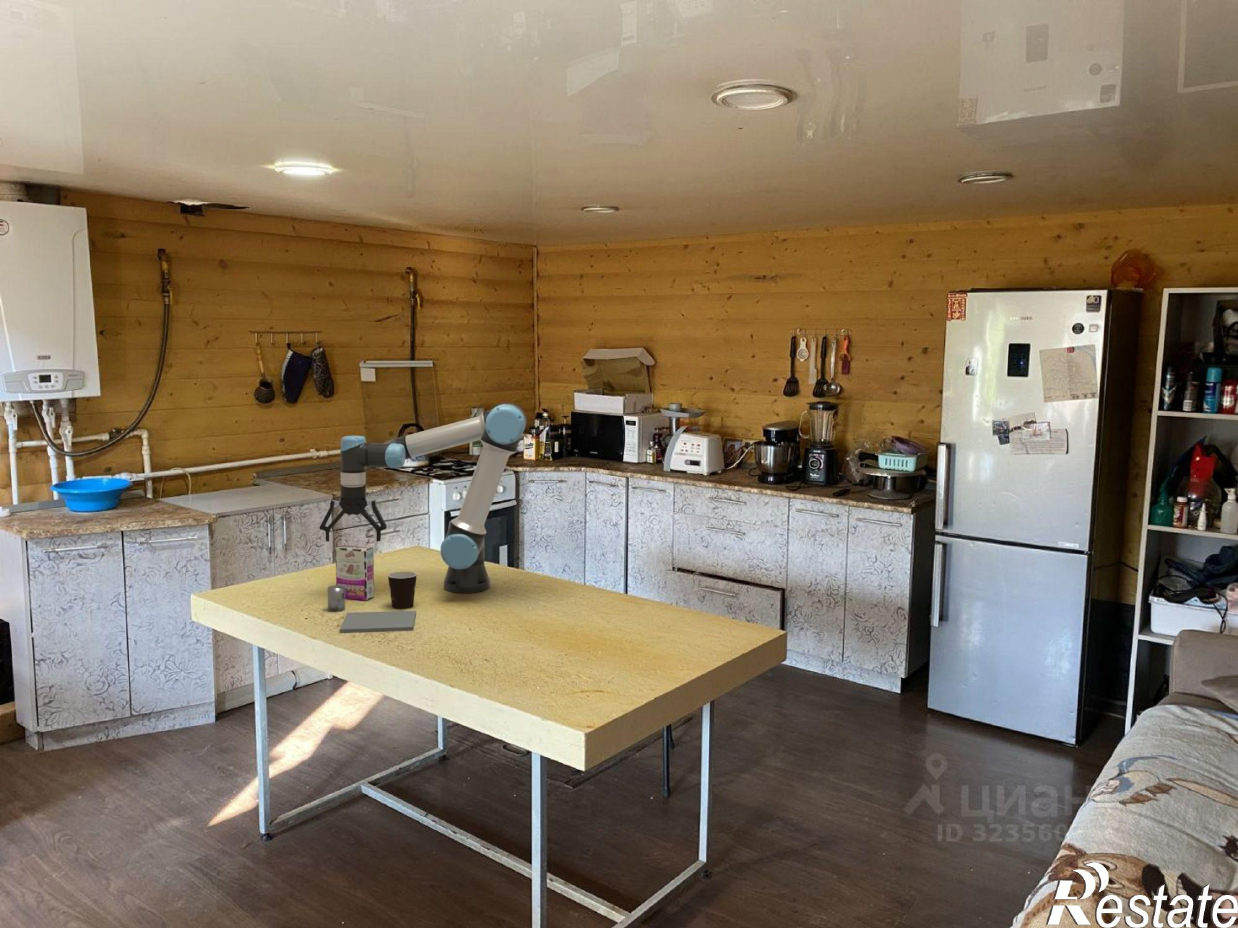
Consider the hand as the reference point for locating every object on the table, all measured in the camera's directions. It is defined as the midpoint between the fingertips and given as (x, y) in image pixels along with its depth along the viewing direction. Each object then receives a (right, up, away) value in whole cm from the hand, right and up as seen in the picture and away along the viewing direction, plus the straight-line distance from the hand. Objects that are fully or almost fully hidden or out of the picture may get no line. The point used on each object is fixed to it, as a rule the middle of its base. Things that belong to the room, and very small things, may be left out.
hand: (353, 551), depth 283 cm
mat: (+15, -18, -24) cm, 33 cm away
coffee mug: (+18, -16, -5) cm, 24 cm away
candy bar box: (0, -15, +2) cm, 15 cm away
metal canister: (-2, -17, -12) cm, 20 cm away
